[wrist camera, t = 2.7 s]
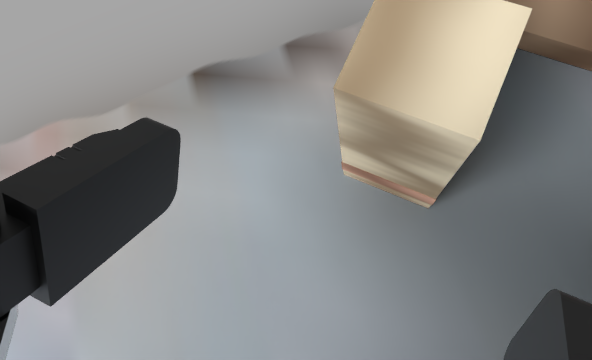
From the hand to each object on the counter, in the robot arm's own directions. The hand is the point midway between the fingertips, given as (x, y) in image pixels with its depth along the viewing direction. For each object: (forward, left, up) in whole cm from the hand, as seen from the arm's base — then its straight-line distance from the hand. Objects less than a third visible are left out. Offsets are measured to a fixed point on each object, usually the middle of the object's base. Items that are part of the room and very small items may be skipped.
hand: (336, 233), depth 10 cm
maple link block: (0, -7, -13) cm, 15 cm away
